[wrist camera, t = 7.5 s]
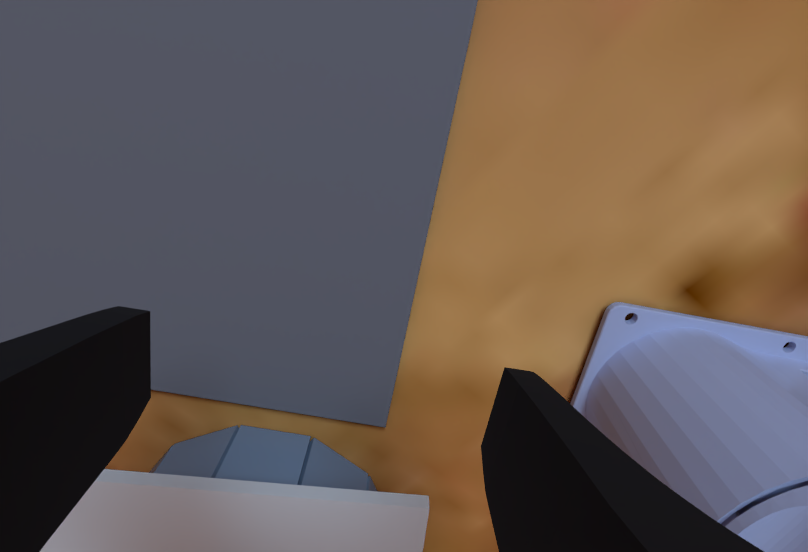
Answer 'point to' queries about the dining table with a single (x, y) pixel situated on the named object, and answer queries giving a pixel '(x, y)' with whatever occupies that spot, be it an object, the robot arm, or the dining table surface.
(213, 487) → the lid
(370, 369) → the mat
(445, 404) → the dining table surface
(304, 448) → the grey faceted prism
